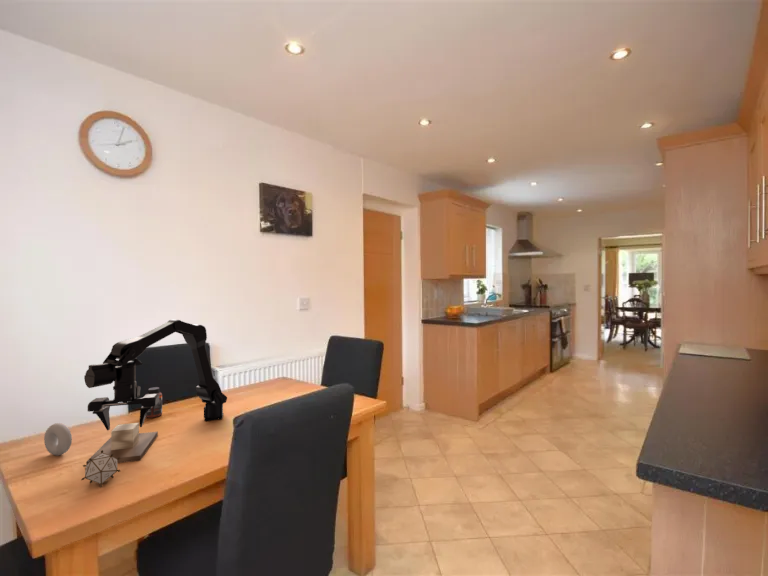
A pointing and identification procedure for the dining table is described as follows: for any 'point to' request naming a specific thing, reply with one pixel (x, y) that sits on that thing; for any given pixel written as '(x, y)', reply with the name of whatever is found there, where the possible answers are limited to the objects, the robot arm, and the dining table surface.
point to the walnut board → (129, 453)
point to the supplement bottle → (156, 409)
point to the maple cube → (124, 436)
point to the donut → (57, 439)
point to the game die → (101, 468)
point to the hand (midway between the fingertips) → (124, 428)
